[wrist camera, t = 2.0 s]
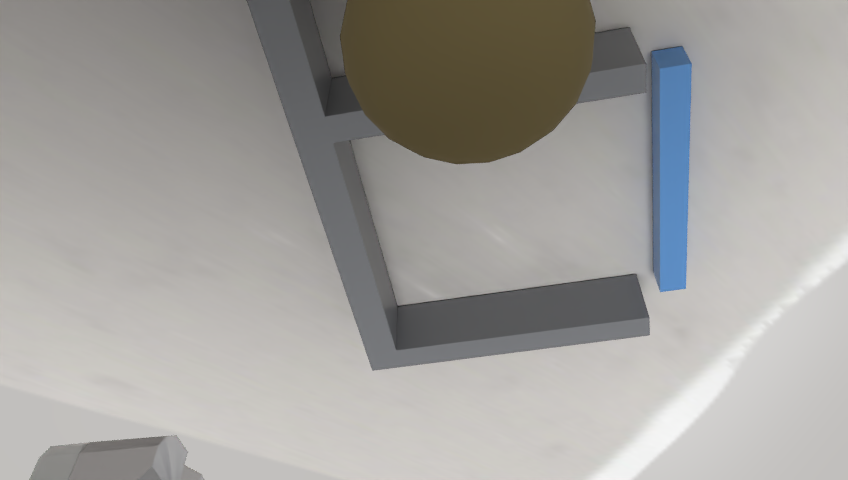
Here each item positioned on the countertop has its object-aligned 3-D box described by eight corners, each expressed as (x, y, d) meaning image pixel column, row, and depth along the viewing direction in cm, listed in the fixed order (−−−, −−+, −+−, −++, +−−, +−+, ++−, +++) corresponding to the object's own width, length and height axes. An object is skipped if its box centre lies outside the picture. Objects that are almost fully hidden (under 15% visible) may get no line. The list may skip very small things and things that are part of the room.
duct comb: (375, 326, 35) (372, 370, 33) (177, -292, 21) (152, -278, 19) (678, 286, 34) (693, 329, 32) (690, -410, 19) (720, -407, 17)
